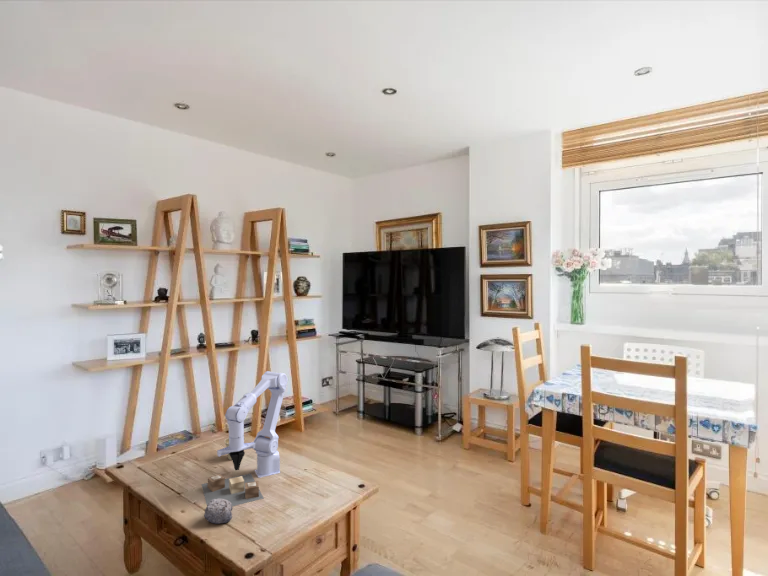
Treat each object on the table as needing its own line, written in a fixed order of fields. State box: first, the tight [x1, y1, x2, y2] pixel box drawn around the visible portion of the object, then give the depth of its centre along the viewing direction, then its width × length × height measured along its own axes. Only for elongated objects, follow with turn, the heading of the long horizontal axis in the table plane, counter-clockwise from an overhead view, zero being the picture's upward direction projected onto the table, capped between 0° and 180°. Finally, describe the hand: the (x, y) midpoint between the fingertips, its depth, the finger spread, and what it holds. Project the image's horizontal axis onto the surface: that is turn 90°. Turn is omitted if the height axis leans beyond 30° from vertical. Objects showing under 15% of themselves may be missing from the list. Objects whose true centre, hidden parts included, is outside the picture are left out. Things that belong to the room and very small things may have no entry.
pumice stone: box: [203, 499, 233, 525], centre depth 149 cm, size 10×8×10 cm
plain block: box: [229, 475, 244, 494], centre depth 170 cm, size 5×5×4 cm
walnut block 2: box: [245, 480, 260, 499], centre depth 166 cm, size 5×5×4 cm
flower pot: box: [224, 437, 246, 461], centre depth 201 cm, size 9×9×9 cm
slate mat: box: [200, 472, 264, 507], centre depth 169 cm, size 20×24×1 cm
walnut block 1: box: [207, 473, 226, 492], centre depth 172 cm, size 5×5×4 cm
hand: (236, 469), depth 170 cm, fingers closed
